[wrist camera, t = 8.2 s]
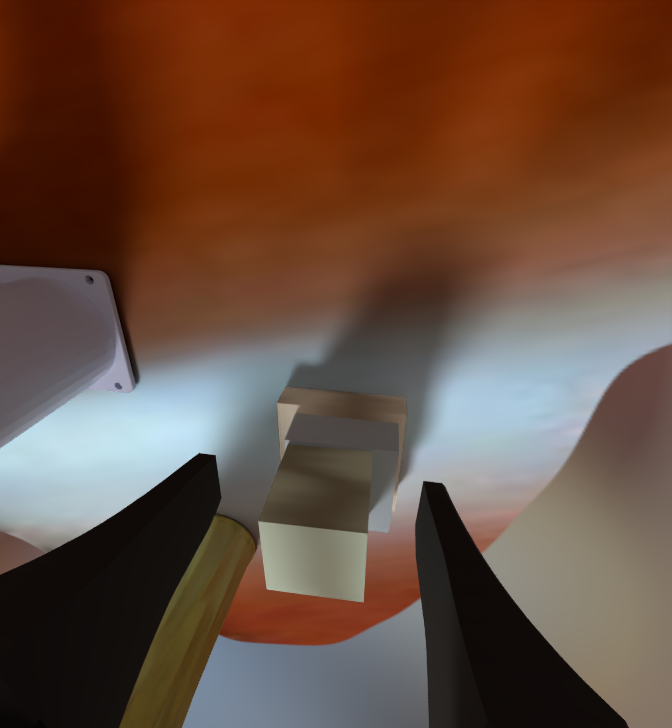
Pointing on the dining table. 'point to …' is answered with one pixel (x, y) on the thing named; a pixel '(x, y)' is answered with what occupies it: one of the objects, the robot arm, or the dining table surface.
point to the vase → (190, 628)
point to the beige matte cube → (318, 523)
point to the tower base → (342, 412)
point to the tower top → (363, 438)
